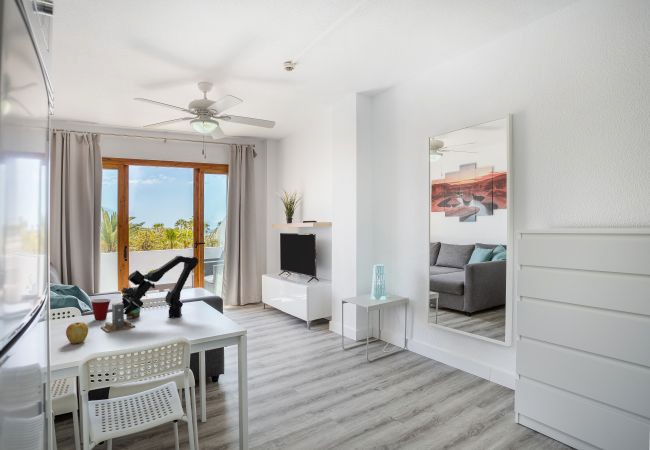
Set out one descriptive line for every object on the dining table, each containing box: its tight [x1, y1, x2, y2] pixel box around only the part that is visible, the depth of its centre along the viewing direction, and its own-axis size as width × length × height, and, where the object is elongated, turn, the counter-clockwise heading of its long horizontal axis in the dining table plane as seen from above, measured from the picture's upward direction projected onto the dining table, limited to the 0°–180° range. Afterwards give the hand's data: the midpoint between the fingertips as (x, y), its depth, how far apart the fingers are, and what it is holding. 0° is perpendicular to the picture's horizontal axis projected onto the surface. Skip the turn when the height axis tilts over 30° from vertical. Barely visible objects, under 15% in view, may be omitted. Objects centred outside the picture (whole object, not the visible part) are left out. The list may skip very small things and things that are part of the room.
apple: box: [65, 321, 89, 344], centre depth 183 cm, size 9×9×10 cm
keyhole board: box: [100, 318, 136, 334], centre depth 207 cm, size 14×12×3 cm
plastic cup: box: [90, 298, 112, 322], centre depth 225 cm, size 11×11×12 cm
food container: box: [125, 307, 141, 320], centre depth 229 cm, size 12×6×10 cm, turn 179°
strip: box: [111, 302, 125, 328], centre depth 207 cm, size 4×5×13 cm
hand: (121, 312), depth 208 cm, fingers open, 9 cm apart
